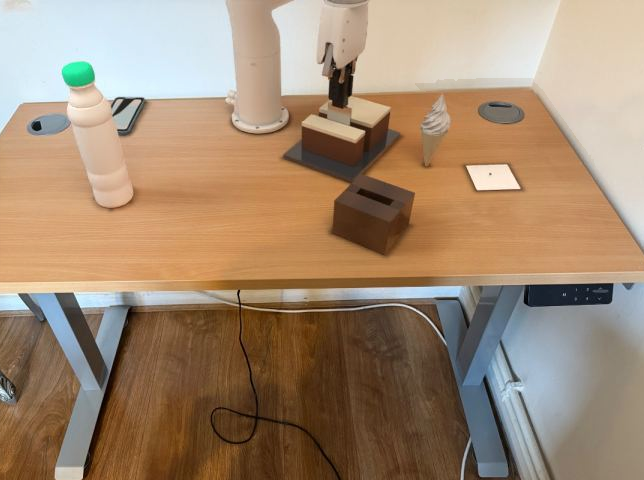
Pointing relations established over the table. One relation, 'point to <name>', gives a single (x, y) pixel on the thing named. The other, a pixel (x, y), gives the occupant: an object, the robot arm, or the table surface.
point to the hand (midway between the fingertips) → (340, 97)
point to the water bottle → (96, 137)
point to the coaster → (492, 177)
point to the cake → (366, 119)
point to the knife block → (372, 213)
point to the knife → (341, 105)
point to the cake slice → (333, 140)
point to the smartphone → (126, 112)
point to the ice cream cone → (434, 128)
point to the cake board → (339, 168)
